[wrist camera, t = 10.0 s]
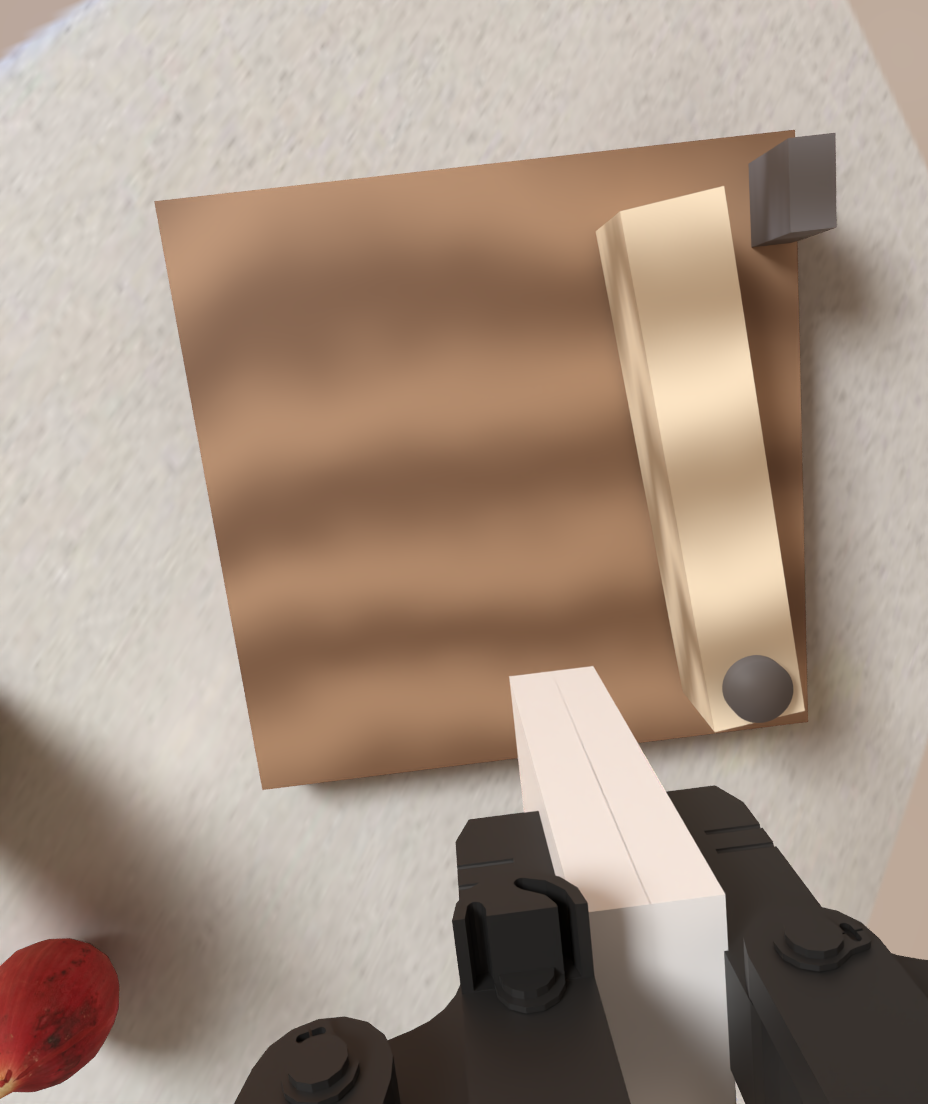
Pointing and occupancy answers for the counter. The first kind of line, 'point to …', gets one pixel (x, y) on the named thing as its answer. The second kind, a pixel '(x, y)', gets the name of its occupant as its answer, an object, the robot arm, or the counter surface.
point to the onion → (53, 1012)
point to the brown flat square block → (459, 440)
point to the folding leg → (702, 455)
